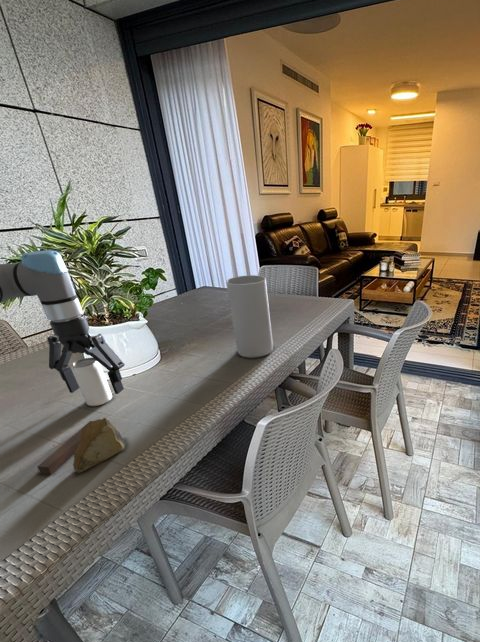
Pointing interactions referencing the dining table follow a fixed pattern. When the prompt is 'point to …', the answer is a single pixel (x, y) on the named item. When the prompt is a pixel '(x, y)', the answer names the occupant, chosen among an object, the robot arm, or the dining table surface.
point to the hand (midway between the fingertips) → (97, 390)
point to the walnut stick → (61, 454)
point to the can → (92, 381)
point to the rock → (97, 444)
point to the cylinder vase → (250, 315)
